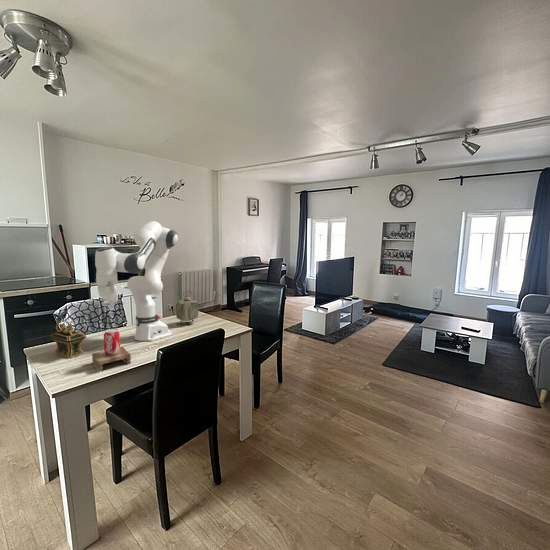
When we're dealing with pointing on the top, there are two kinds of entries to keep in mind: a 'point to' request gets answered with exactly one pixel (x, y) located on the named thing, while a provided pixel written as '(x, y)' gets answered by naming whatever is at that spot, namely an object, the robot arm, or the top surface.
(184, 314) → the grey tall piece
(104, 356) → the walnut shelf
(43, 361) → the top surface
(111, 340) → the soda can
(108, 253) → the robot arm
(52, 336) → the decorative box
